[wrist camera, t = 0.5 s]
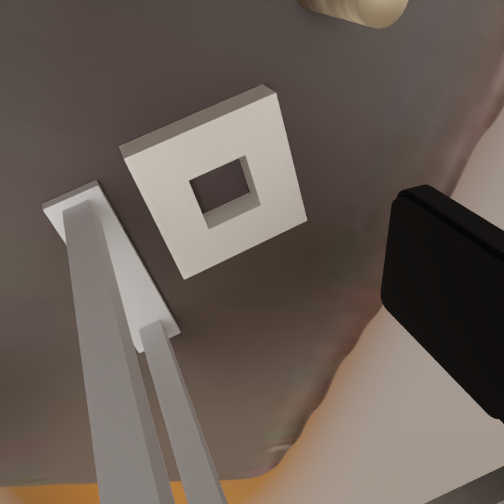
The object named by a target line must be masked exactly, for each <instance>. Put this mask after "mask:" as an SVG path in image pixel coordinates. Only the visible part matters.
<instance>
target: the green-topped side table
mask: <svg viewBox="0 0 504 504" xmlns="http://www.w3.org/2000/svg"><path fill="white" fill-rule="evenodd" d="M42 206H43V211H44V212H45V214H46V215H47V217H48V218H49V220H50V221H51V223H52V224H53V226H54V227H55V229H56V230H57V232H58V233H59V235H60V236H61V238H62V239H63V241H64V242H65V244H66V245H67V252H68V260H69V268H70V275H71V283H72V290H73V298H74V306H75V313H76V321H77V329H78V336H79V344H80V352H81V359H82V367H83V374H84V382H85V390H86V397H87V405H88V413H89V420H90V428H91V436H92V443H93V451H94V459H95V466H96V474H97V481H98V488H99V496H100V504H175V501H174V498H173V494H172V490H171V486H170V482H169V479H168V475H167V471H166V467H165V463H164V459H163V456H162V452H161V448H160V444H159V440H158V437H157V433H156V429H155V425H154V421H153V417H152V414H151V410H150V406H149V402H148V398H147V395H146V391H145V387H144V383H143V379H142V375H141V372H140V368H139V364H138V360H137V356H136V353H135V349H134V346H135V347H136V349H137V350H138V352H139V353H141V352H143V351H145V354H146V358H147V361H148V365H149V368H150V372H151V376H152V379H153V383H154V386H155V390H156V393H157V397H158V400H159V404H160V407H161V411H162V414H163V418H164V421H165V425H166V428H167V432H168V435H169V439H170V442H171V446H172V449H173V453H174V456H175V460H176V463H177V467H178V470H179V474H180V477H181V481H182V484H183V488H184V491H185V495H186V499H187V502H188V504H227V501H226V498H225V495H224V492H223V489H222V487H221V484H220V481H219V478H218V475H217V472H216V469H215V467H214V464H213V461H212V458H211V455H210V453H209V450H208V447H207V444H206V441H205V438H204V436H203V433H202V430H201V427H200V424H199V421H198V419H197V416H196V413H195V410H194V407H193V405H192V402H191V399H190V396H189V393H188V390H187V388H186V385H185V382H184V379H183V376H182V373H181V371H180V368H179V365H178V362H177V359H176V357H175V354H174V351H173V348H172V345H171V342H170V340H169V338H171V337H173V336H175V335H177V334H179V333H181V332H180V330H179V327H178V325H177V323H176V321H175V320H174V318H173V316H172V314H171V313H170V311H169V309H168V307H167V305H166V304H165V302H164V300H163V298H162V296H161V295H160V293H159V291H158V289H157V287H156V286H155V284H154V282H153V280H152V278H151V277H150V275H149V273H148V271H147V270H146V268H145V266H144V264H143V262H142V261H141V259H140V257H139V255H138V253H137V252H136V250H135V248H134V246H133V244H132V243H131V241H130V239H129V237H128V235H127V234H126V232H125V230H124V228H123V226H122V225H121V223H120V221H119V219H118V218H117V216H116V214H115V212H114V210H113V209H112V207H111V205H110V203H109V201H108V200H107V198H106V196H105V194H104V192H103V191H102V189H101V187H100V185H99V183H98V182H97V180H95V181H92V182H90V183H88V184H86V185H83V186H81V187H79V188H76V189H74V190H72V191H70V192H67V193H65V194H63V195H60V196H58V197H56V198H54V199H51V200H49V201H47V202H44V203H42Z"/></svg>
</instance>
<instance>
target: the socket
mask: <svg viewBox="0 0 504 504" xmlns="http://www.w3.org/2000/svg"><path fill="white" fill-rule="evenodd" d="M118 147H119V149H120V151H121V154H122V156H123V158H124V160H125V162H126V164H127V166H128V168H129V170H130V172H131V174H132V176H133V178H134V180H135V182H136V184H137V186H138V188H139V190H140V192H141V194H142V196H143V198H144V200H145V202H146V204H147V206H148V208H149V210H150V212H151V214H152V217H153V219H154V221H155V223H156V225H157V227H158V229H159V231H160V233H161V235H162V237H163V239H164V241H165V243H166V245H167V247H168V249H169V251H170V253H171V255H172V257H173V259H174V261H175V263H176V265H177V267H178V269H179V271H180V273H181V275H182V277H183V279H184V280H185V279H187V278H189V277H191V276H193V275H195V274H197V273H199V272H202V271H204V270H206V269H208V268H210V267H212V266H214V265H216V264H218V263H220V262H222V261H224V260H226V259H229V258H231V257H233V256H235V255H237V254H239V253H241V252H243V251H245V250H247V249H249V248H251V247H254V246H256V245H258V244H260V243H262V242H264V241H266V240H268V239H270V238H272V237H274V236H276V235H278V234H281V233H283V232H285V231H287V230H289V229H291V228H293V227H295V226H297V225H299V224H301V223H303V222H305V221H307V217H306V213H305V209H304V205H303V201H302V197H301V193H300V189H299V185H298V181H297V176H296V172H295V168H294V164H293V160H292V156H291V152H290V148H289V144H288V140H287V135H286V131H285V127H284V123H283V119H282V115H281V111H280V107H279V103H278V99H277V94H276V92H274V91H273V90H271V89H270V88H268V87H266V86H265V85H263V84H262V85H259V86H257V87H255V88H252V89H250V90H248V91H245V92H243V93H241V94H238V95H236V96H234V97H231V98H229V99H227V100H224V101H222V102H220V103H217V104H215V105H213V106H210V107H208V108H206V109H203V110H201V111H199V112H196V113H194V114H192V115H189V116H187V117H185V118H183V119H180V120H178V121H176V122H173V123H171V124H169V125H166V126H164V127H162V128H159V129H157V130H155V131H152V132H150V133H148V134H145V135H143V136H141V137H138V138H136V139H134V140H131V141H129V142H127V143H124V144H122V145H120V146H118ZM238 158H239V160H240V163H241V167H242V170H243V173H244V176H245V179H246V182H247V185H248V188H249V191H250V192H249V193H247V194H245V195H242V196H240V197H238V198H236V199H234V200H232V201H229V202H227V203H225V204H223V205H221V206H219V207H217V208H214V209H212V210H210V211H208V212H206V213H204V214H202V212H201V210H200V207H199V205H198V202H197V200H196V197H195V195H194V193H193V190H192V188H191V185H190V183H189V180H191V179H193V178H196V177H198V176H200V175H202V174H204V173H207V172H209V171H211V170H213V169H216V168H218V167H220V166H222V165H224V164H227V163H229V162H231V161H233V160H236V159H238Z"/></svg>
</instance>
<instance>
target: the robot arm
mask: <svg viewBox="0 0 504 504" xmlns="http://www.w3.org/2000/svg"><path fill="white" fill-rule="evenodd" d="M381 300H382V303H383V305H384V307H385V308H386V309H387V310H388V311H389V312H390V314H391V315H392V316H393V317H395V319H396V320H397V321H398V322H399V323H400V324H401V325H402V326H403V327H404V328H405V329H406V330H407V331H408V332H409V333H410V334H411V335H412V336H413V337H414V338H415V339H416V340H417V341H418V343H419V344H420V345H421V346H422V347H423V348H425V350H426V351H427V352H428V353H429V354H430V355H431V356H432V357H433V358H434V359H435V360H436V361H437V362H438V363H439V364H440V365H441V366H442V367H443V368H444V369H445V370H446V371H447V372H448V373H449V375H450V376H451V377H452V378H454V380H455V381H456V382H457V383H458V384H459V385H460V386H461V387H462V388H463V389H464V390H465V391H466V392H467V393H468V394H469V395H470V396H471V397H472V398H473V399H474V400H475V401H476V402H477V403H478V404H479V405H480V407H482V409H483V410H484V411H485V412H486V413H487V414H488V415H490V416H491V417H493V418H495V419H500V420H501V421H502V422H503V424H504V231H503V230H501V229H500V228H498V227H496V226H495V225H493V224H491V223H490V222H488V221H487V220H485V219H483V218H482V217H480V216H479V215H477V214H475V213H474V212H472V211H470V210H469V209H467V208H466V207H464V206H462V205H461V204H459V203H457V202H456V201H454V200H452V199H451V198H449V197H448V196H446V195H444V194H443V193H441V192H440V191H438V190H436V189H435V188H433V187H431V186H429V185H420V186H417V187H413V188H409V189H405V190H402V191H401V192H399V194H398V195H397V199H395V200H394V201H393V203H392V206H391V214H390V222H389V230H388V238H387V246H386V254H385V262H384V270H383V278H382V286H381ZM425 504H504V466H503V467H501V468H499V469H497V470H495V471H493V472H490V473H488V474H486V475H484V476H482V477H480V478H478V479H475V480H473V481H471V482H469V483H467V484H465V485H463V486H461V487H459V488H456V489H454V490H452V491H450V492H448V493H446V494H444V495H442V496H440V497H438V498H436V499H433V500H431V501H429V502H427V503H425Z"/></svg>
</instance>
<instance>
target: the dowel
mask: <svg viewBox="0 0 504 504" xmlns="http://www.w3.org/2000/svg"><path fill="white" fill-rule="evenodd" d="M298 2H299V4H300V5H301V6H302V7H303V8H305V9H307V10H310V11H314V12H318V13H321V14H325V15H329V16H332V17H336V18H340V19H344V20H347V21H351V22H355V23H358V24H362V25H366V26H369V27H373V28H385V27H388V26H390V25H392V24H393V23H394V22H395V21H397V20H398V18H399V17H400V16H401V15H402V13H403V11H404V10H405V8H406V5H407V2H408V0H298Z"/></svg>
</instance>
